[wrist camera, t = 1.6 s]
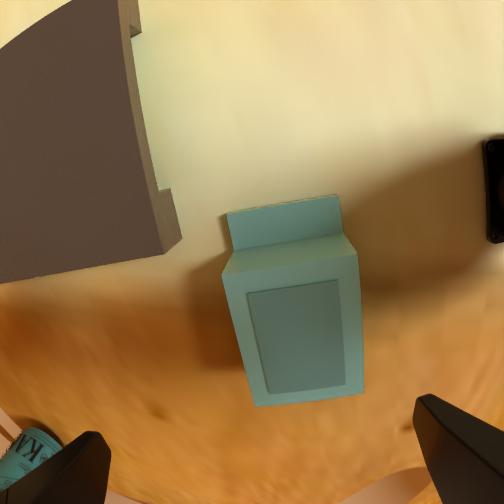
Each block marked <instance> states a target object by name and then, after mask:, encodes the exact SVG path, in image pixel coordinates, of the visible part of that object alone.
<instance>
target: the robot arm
mask: <svg viewBox="0 0 504 504" xmlns="http://www.w3.org/2000/svg"><path fill="white" fill-rule="evenodd" d="M489 144H490V146H491V150H489V148H488V147H489ZM482 151H483V160H484V171H485V185H486V206H487V239H488V241H490V242H491V243H493V244H497V243H501V242H504V139H487V140H484V142H483V144H482ZM494 233H495V236H494V238H493V234H494ZM413 425H414V429H415V432H416V435H417V438H418V441H419V444H420V447H421V450H422V454H423V457H424V460H425V463H426V466H427V469H428V471H429V473H430V475H431V478H432V480H433V482H434V485H435V487H436V489H437V491H438V494H439V496H440V498H441V501H442V503H443V504H504V431H502V430H500V429H498V428H496V427H494V426H492V425H490V424H488V423H486V422H484V421H482V420H480V419H478V418H476V417H474V416H473V415H471V414H469V413H467V412H465V411H463V410H461V409H459V408H457V407H455V406H454V405H452V404H450V403H448V402H446V401H444V400H442V399H441V398H439V397H437V396H435V395H433V394H426V395H423V396H420V397H418V398H417V399H416V403H415V408H414V413H413ZM110 462H111V450H110V448H109V446H108V445H107V443H106V442H105V440H104V438H103V437H102V435H101V434H100V433H99V432H97V431H86V432H84V433H83V434H81V435H80V436H79V437H77V438H76V439H75V440H73V441H72V442H71V443H69V444H68V445H66V446H65V447H64V448H62V449H61V450H60V451H58V452H57V453H55V454H54V455H53V456H51V457H50V458H48V459H47V460H46V461H44V462H43V463H41V464H40V465H39V466H37V467H36V468H34V469H33V470H32V471H30V472H29V473H27V474H26V475H24V476H23V477H22V478H20V479H19V480H17V481H16V482H14V483H13V484H11V485H10V486H9V487H7V488H5V489H4V490H2V491H1V492H0V504H104V502H105V497H106V491H107V484H108V476H109V469H110Z"/></svg>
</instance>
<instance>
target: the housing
mask: <svg viewBox="0 0 504 504" xmlns="http://www.w3.org/2000/svg"><path fill="white" fill-rule="evenodd" d="M226 217H227V221H228V226H229V231H230V235H231V240H232V244H233V249H234V251H233V253H232V255H231V257H230V258H229V260H228V262H227V264H226V266H225V268H224V270H223V272H222V274H221V277H222V281H223V285H224V289H225V293H226V297H227V301H228V305H229V309H230V313H231V317H232V321H233V325H234V329H235V333H236V337H237V341H238V345H239V349H240V352H241V356H242V360H243V364H244V368H245V371H246V375H247V379H248V382H249V386H250V390H251V393H252V397H253V401H254V404H255V407H260V406H273V405H283V404H293V403H302V402H310V401H317V400H325V399H331V398H338V397H344V396H350V395H356V394H361V393H364V350H363V321H362V303H361V287H360V274H359V262H358V254H357V252H356V251H355V249H354V248H353V246H352V245H351V243H350V242H349V240H348V239H347V237H346V236H345V234H344V233H343V226H342V218H341V211H340V204H339V197H338V195H337V194H333V195H327V196H320V197H314V198H308V199H301V200H295V201H289V202H283V203H277V204H271V205H265V206H260V207H254V208H248V209H243V210H237V211H232V212H228V213H227V214H226Z"/></svg>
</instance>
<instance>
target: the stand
mask: <svg viewBox="0 0 504 504" xmlns="http://www.w3.org/2000/svg"><path fill="white" fill-rule="evenodd" d="M141 32H142V31H141V23H140V15H139V7H138V0H71V1H70V2H68V3H66V4H65V5H63V6H61V7H59V8H58V9H56V10H55V11H53V12H51V13H50V14H48V15H47V16H45V17H44V18H42V19H41V20H39V21H38V22H36V23H35V24H33V25H32V26H30V27H29V28H27V29H26V30H25V31H23V32H22V33H20V34H19V35H18V36H16V37H15V38H14V39H12V40H11V41H10V42H8V43H7V44H6V45H5V46H3V47H2V48H1V49H0V284H2V283H7V282H13V281H18V280H23V279H29V278H34V277H39V276H45V275H50V274H56V273H61V272H67V271H72V270H78V269H83V268H89V267H94V266H100V265H106V264H111V263H117V262H123V261H128V260H134V259H140V258H146V257H151V256H157V255H163V254H165V253H166V252H167V251H169V250H170V249H171V248H172V247H173V246H174V245H175V244H176V243H178V242H179V241H180V240H181V239H182V236H181V231H180V227H179V223H178V219H177V215H176V211H175V206H174V202H173V198H172V193H171V189H170V188H169V189H165V190H161V191H158V187H157V183H156V178H155V174H154V169H153V164H152V160H151V155H150V150H149V145H148V140H147V135H146V130H145V124H144V119H143V114H142V108H141V102H140V96H139V91H138V84H137V78H136V72H135V65H134V58H133V51H132V44H131V36H134V35H136V34H139V33H141Z"/></svg>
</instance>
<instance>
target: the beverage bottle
mask: <svg viewBox="0 0 504 504" xmlns="http://www.w3.org/2000/svg"><path fill="white" fill-rule="evenodd" d="M61 449H62V447H61V446H60V445H59V444H58V443H57V442H56V441H55V440H54V439H53V438H51V437H50V436H49V435H48V434H46V433H45V432H43V431H41V430H40V429H38V428H35V427H28V428H26V429H25V430H24V431H22V433H21V434H20V436H19V437H17V439H16V441H15V442H12V444H11V447H10V448H9V449H8V450H7V449H6V450H7V451H6V453H5V454H4V456H2V458H1V459H0V492H1V491H2V490H4V489H5V488H7V487H9V486H10V485H11V484H13V483H14V482H16V481H17V480H19V479H20V478H22V477H23V476H24V475H26V474H27V473H29V472H30V471H32V470H33V469H34V468H36V467H37V466H39V465H40V464H41V463H43V462H44V461H46V460H47V459H48V458H50V457H51V456H53V455H54V454H55V453H57V452H58V451H60V450H61Z"/></svg>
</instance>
